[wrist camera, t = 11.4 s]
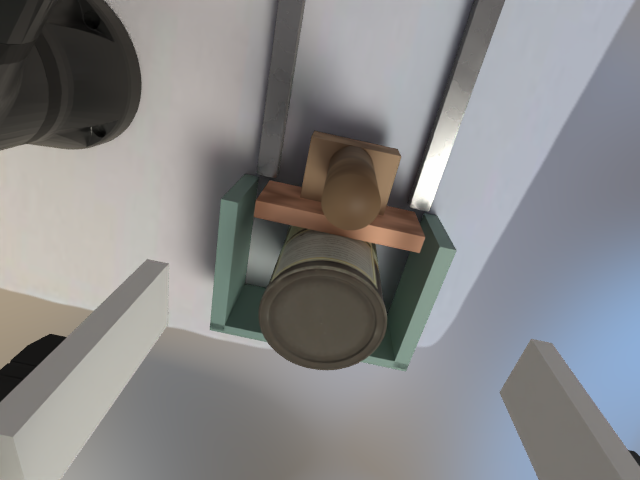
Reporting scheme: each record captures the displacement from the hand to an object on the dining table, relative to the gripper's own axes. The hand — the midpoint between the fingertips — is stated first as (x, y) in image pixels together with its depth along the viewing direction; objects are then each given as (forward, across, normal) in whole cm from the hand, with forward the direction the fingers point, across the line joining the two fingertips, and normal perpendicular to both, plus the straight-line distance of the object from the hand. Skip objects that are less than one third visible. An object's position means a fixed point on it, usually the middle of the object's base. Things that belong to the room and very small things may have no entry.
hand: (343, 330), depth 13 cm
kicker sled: (+25, 0, -1) cm, 25 cm away
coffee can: (+27, 0, -10) cm, 29 cm away
